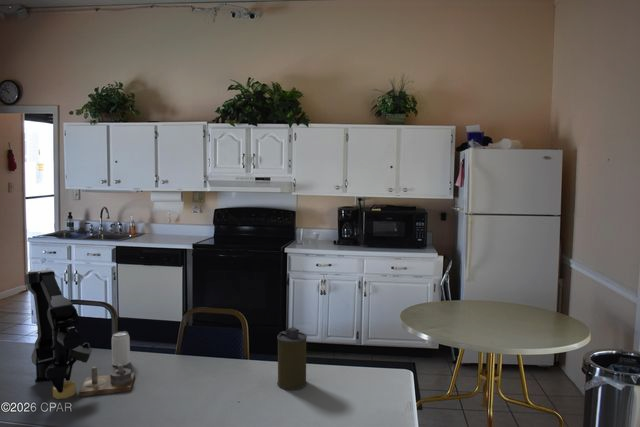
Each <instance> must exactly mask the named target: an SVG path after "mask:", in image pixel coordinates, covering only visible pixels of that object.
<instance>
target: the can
mask: <svg viewBox="0 0 640 427" xmlns="http://www.w3.org/2000/svg"><path fill="white" fill-rule="evenodd" d="M130 340H131V338H130V335H129V332H128V331H126V330H123V331H116V332H114V333H113V334H112V337H111V363H112V366H114V367H118V365H120V364H123V366H127V365H129V364H130V362H131V345H130Z"/></svg>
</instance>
